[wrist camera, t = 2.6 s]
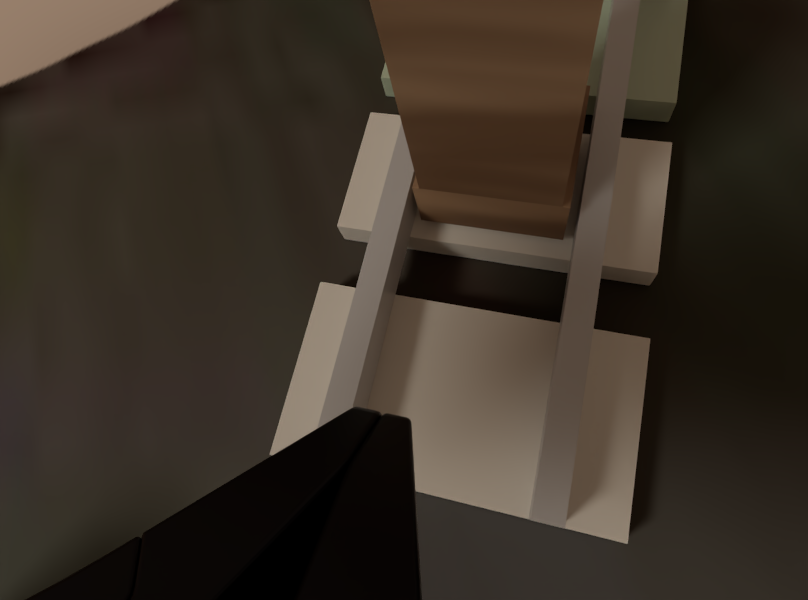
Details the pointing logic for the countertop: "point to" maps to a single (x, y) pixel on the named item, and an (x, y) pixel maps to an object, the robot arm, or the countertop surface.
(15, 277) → the countertop surface
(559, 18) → the slider
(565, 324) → the track
